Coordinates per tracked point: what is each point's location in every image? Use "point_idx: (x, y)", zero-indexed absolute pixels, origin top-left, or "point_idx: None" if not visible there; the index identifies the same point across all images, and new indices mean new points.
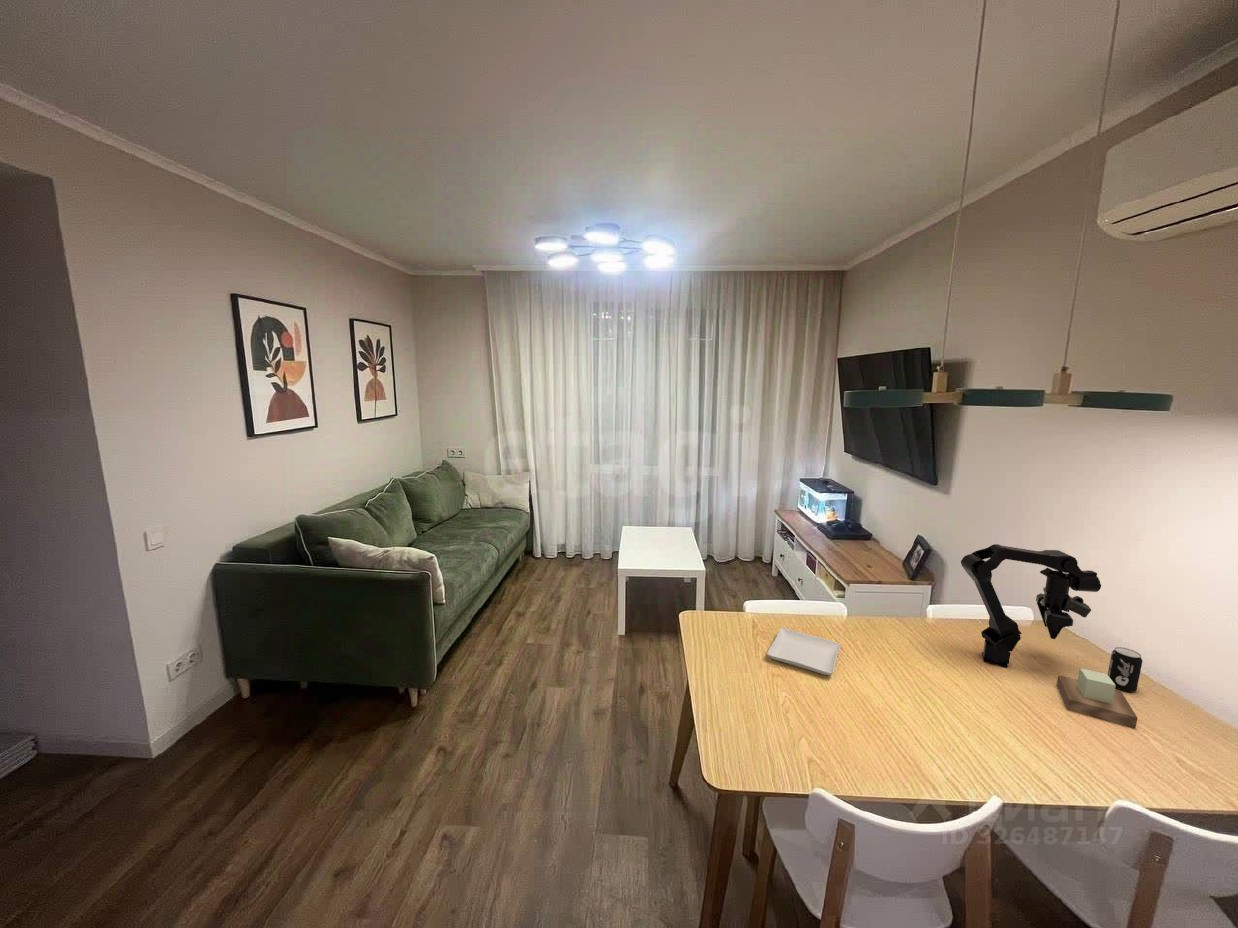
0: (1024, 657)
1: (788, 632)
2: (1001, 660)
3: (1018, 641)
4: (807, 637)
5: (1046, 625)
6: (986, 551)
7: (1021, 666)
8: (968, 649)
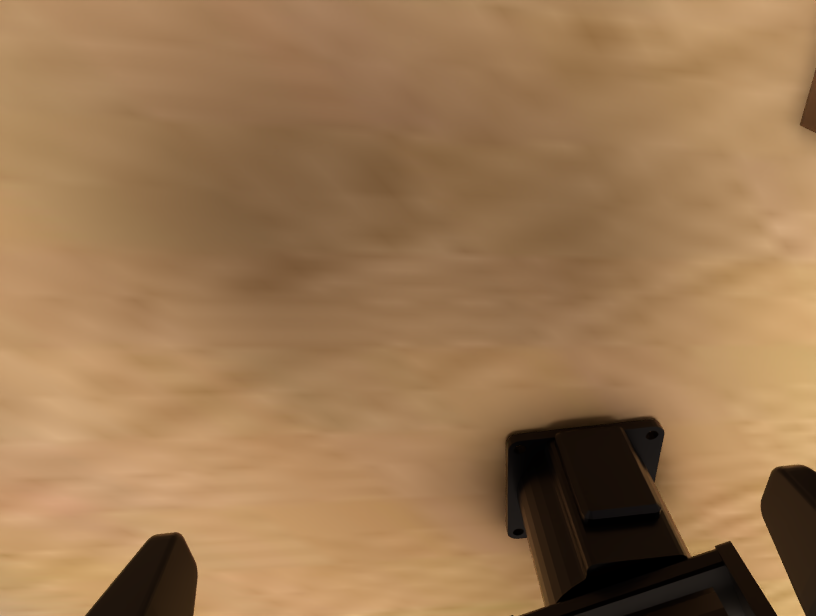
0: (367, 330)
1: None
2: (652, 480)
3: (724, 609)
4: None
5: (189, 585)
6: None
7: (570, 347)
8: (494, 574)
